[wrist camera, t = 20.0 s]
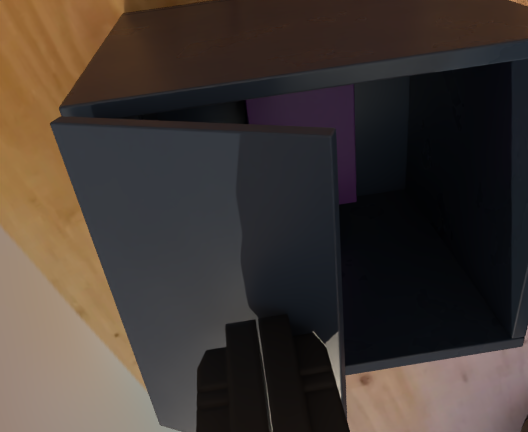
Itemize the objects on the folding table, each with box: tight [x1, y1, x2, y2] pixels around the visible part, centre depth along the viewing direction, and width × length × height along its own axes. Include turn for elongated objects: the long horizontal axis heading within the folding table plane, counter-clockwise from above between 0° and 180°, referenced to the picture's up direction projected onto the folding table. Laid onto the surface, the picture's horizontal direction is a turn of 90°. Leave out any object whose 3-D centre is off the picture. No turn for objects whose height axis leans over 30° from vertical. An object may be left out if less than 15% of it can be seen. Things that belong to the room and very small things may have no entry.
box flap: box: [50, 116, 347, 432], centre depth 13 cm, size 6×11×1 cm, turn 6°
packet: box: [243, 84, 357, 204], centre depth 23 cm, size 7×4×3 cm, turn 7°
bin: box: [59, 0, 528, 375], centre depth 17 cm, size 14×11×18 cm
